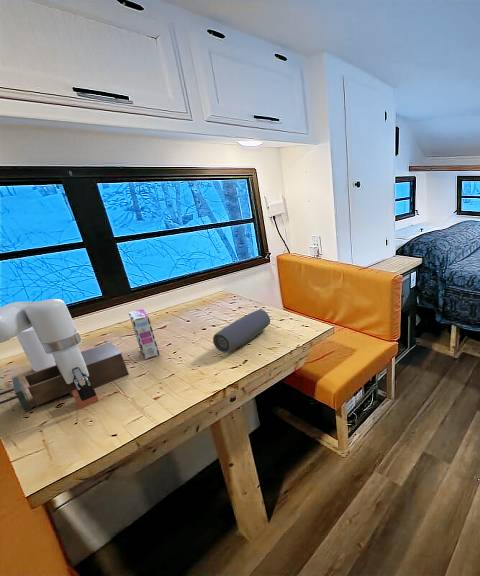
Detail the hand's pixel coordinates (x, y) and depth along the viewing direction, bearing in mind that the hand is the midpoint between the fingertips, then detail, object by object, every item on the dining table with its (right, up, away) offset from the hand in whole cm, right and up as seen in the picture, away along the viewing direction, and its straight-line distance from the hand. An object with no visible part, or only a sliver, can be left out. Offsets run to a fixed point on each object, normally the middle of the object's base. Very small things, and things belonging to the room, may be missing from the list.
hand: (85, 391), depth 92 cm
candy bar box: (-2, +6, +28) cm, 28 cm away
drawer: (-16, -3, +2) cm, 17 cm away
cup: (-33, +3, +21) cm, 39 cm away
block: (0, -4, +1) cm, 4 cm away
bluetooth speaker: (+33, +9, +34) cm, 48 cm away
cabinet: (-8, 0, +12) cm, 15 cm away
